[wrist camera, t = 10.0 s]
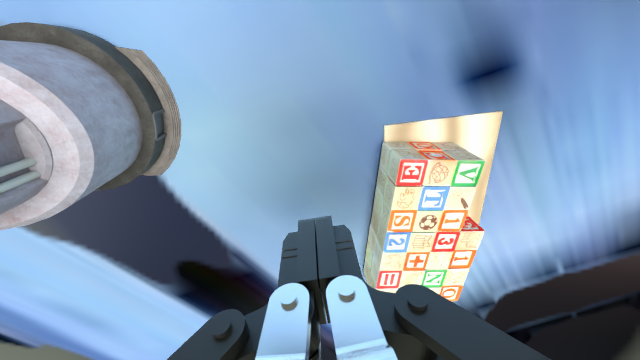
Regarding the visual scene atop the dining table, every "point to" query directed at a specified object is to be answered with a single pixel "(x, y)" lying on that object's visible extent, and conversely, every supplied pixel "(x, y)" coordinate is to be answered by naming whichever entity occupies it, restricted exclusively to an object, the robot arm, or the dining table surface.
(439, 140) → the oak board
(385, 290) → the stack of blocks
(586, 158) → the dining table surface
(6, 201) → the juicer
